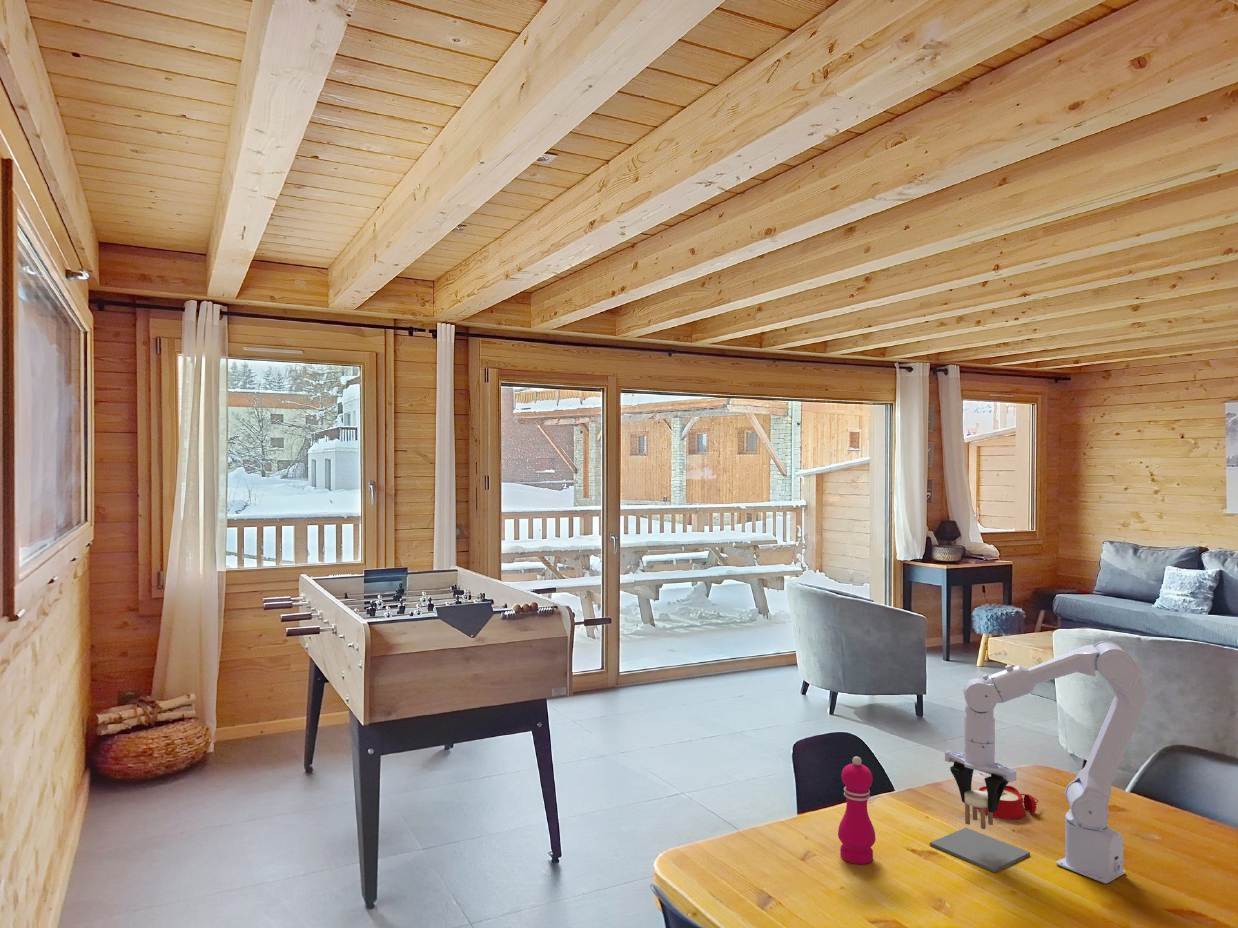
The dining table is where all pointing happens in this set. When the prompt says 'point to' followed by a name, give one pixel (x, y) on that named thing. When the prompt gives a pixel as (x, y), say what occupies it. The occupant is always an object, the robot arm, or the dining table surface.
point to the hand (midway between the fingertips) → (979, 806)
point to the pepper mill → (856, 815)
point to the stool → (976, 801)
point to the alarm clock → (1012, 804)
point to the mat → (980, 849)
